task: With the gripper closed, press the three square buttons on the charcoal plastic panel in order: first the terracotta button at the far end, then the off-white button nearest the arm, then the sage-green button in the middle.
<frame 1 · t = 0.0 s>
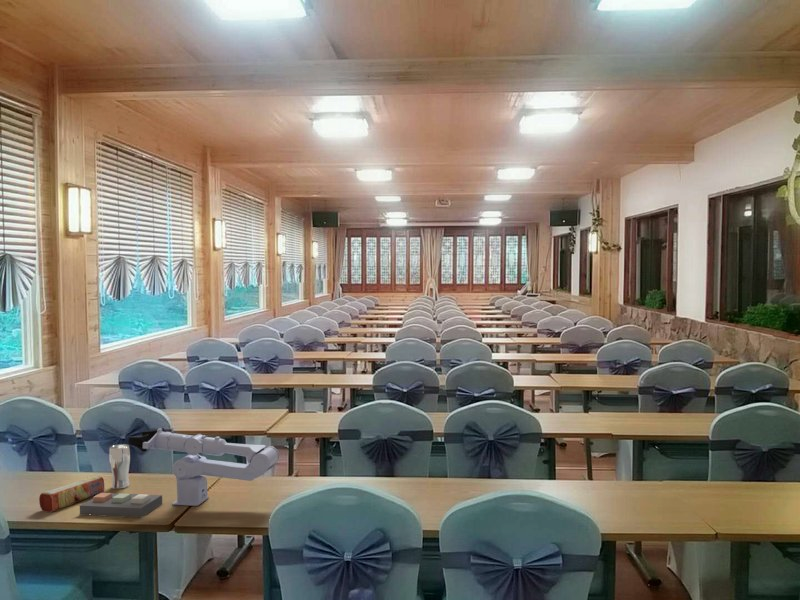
hand: (135, 437, 207), 22 cm above the table, tool horizontal, fingers open, 7 cm apart
sage button: (121, 500, 199), point 3 cm above the table, slide at 0.0 cm
beer glass: (120, 487, 222), on the table
snack package: (73, 502, 208), on the table
button panel: (121, 509, 199), on the table
off-white button: (140, 501, 198), point 3 cm above the table, slide at 0.0 cm
terracotta button: (102, 499, 200), point 3 cm above the table, slide at 0.0 cm
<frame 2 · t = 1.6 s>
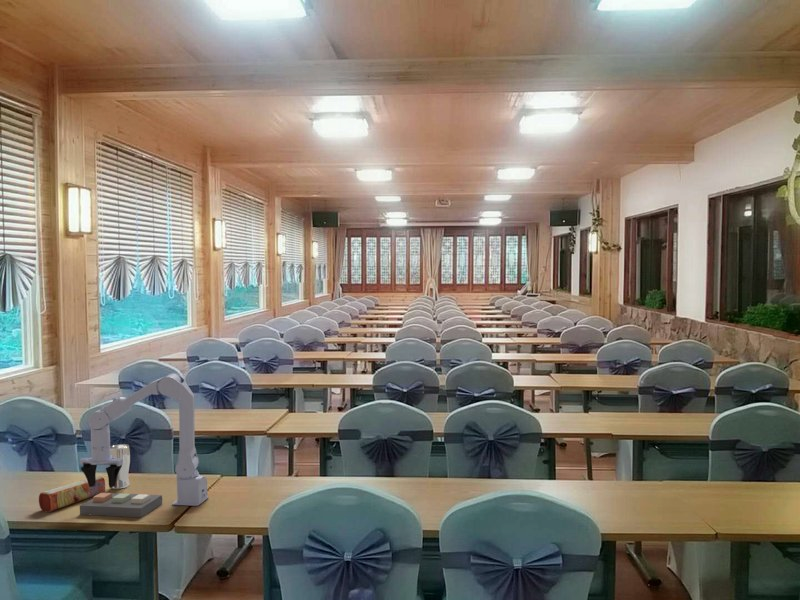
hand: (102, 486, 200), 7 cm above the table, tool pointing down, fingers open, 7 cm apart
nothing on the table moved.
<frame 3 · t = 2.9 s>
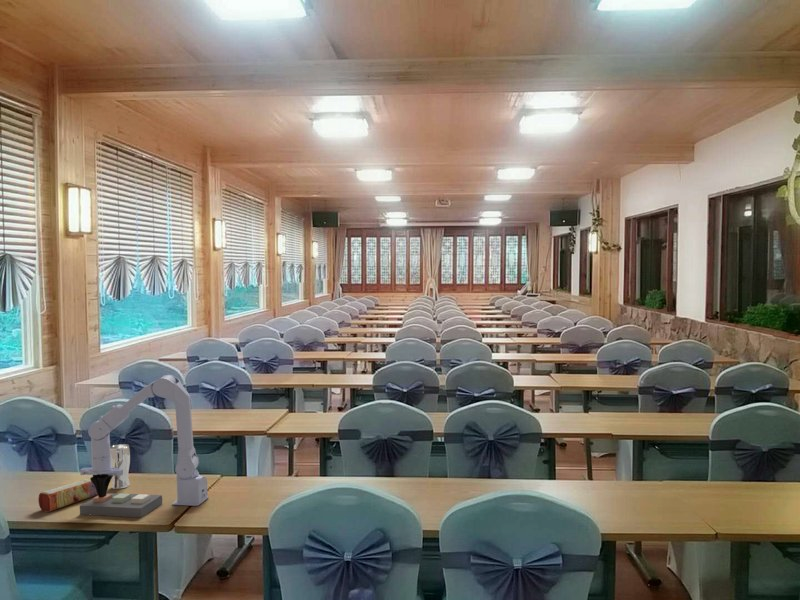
hand: (102, 496, 200), 4 cm above the table, tool pointing down, fingers closed, pressing on terracotta button
terracotta button: (102, 500, 200), point 3 cm above the table, slide at 0.4 cm, touching gripper
everything else where it was.
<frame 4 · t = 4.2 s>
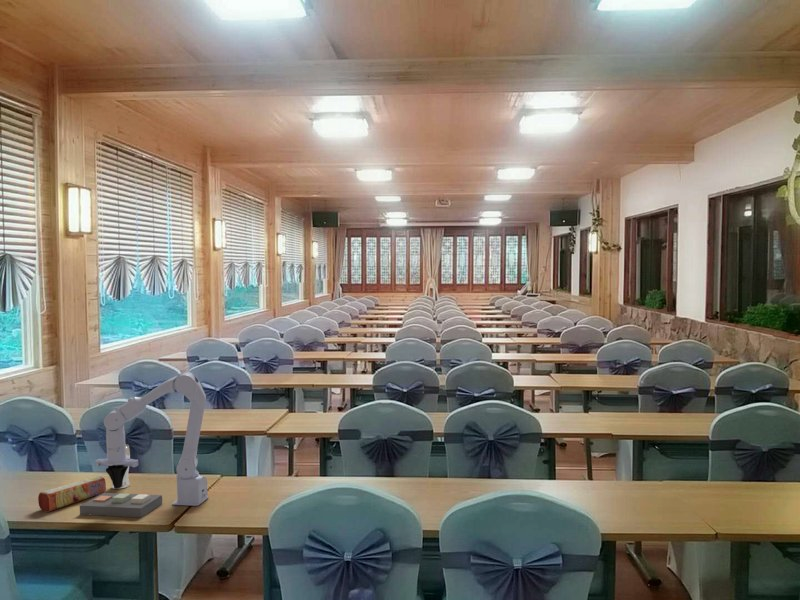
hand: (118, 487, 199), 7 cm above the table, tool pointing down, fingers closed
terracotta button: (102, 502, 200), point 2 cm above the table, slide at 1.0 cm
everything else where it was.
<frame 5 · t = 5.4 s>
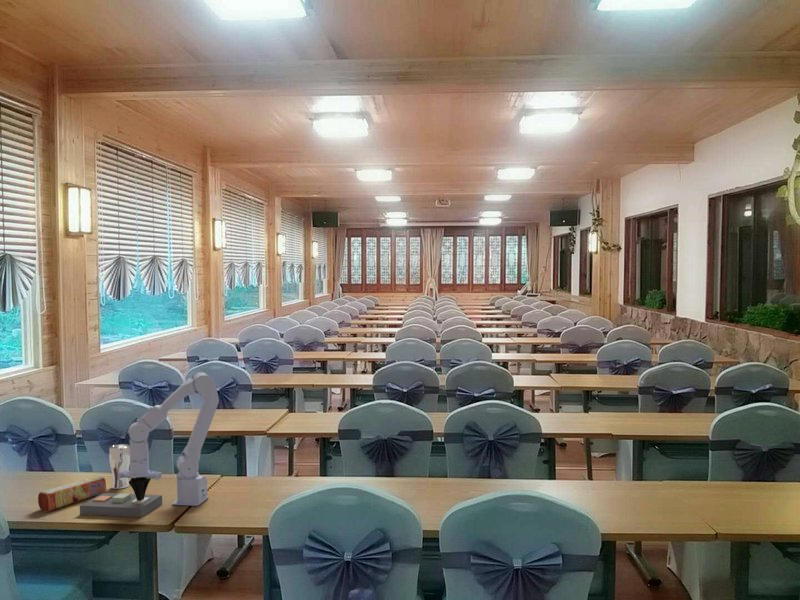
hand: (140, 499, 198), 3 cm above the table, tool pointing down, fingers closed, pressing on off-white button
off-white button: (140, 504, 198), point 2 cm above the table, slide at 1.0 cm, touching gripper
everything else where it was.
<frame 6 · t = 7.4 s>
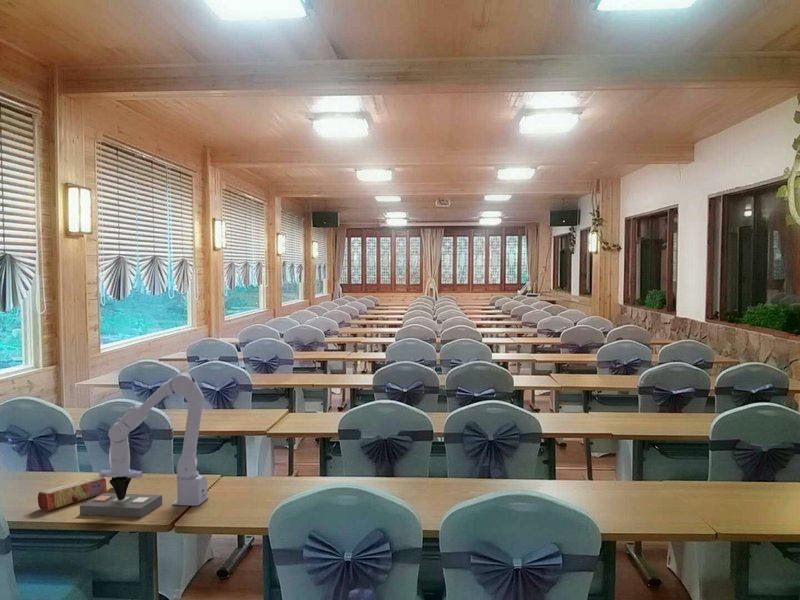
hand: (121, 498, 199), 3 cm above the table, tool pointing down, fingers closed, pressing on sage button
sage button: (121, 503, 199), point 2 cm above the table, slide at 1.0 cm, touching gripper
off-white button: (140, 504, 198), point 2 cm above the table, slide at 1.0 cm
everything else where it was.
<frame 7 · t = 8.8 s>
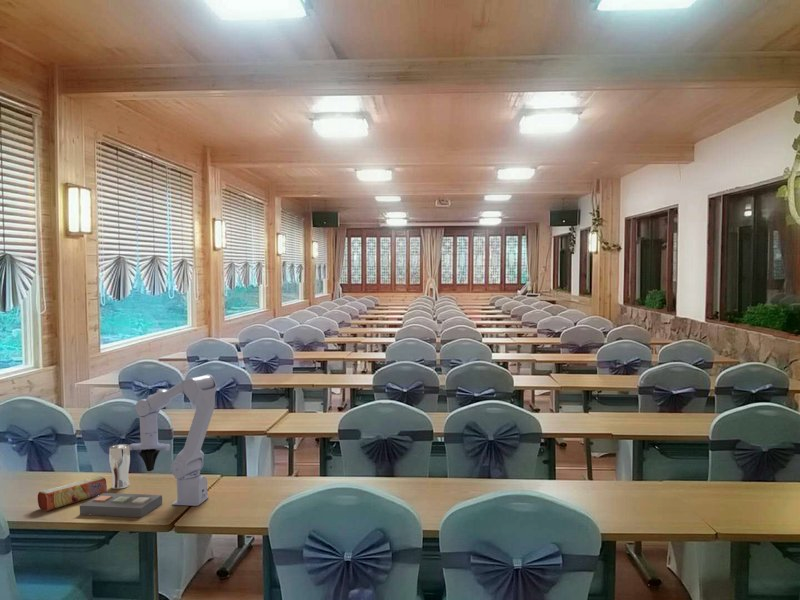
hand: (150, 470, 211), 9 cm above the table, tool pointing down, fingers closed
sage button: (121, 503, 199), point 2 cm above the table, slide at 1.0 cm
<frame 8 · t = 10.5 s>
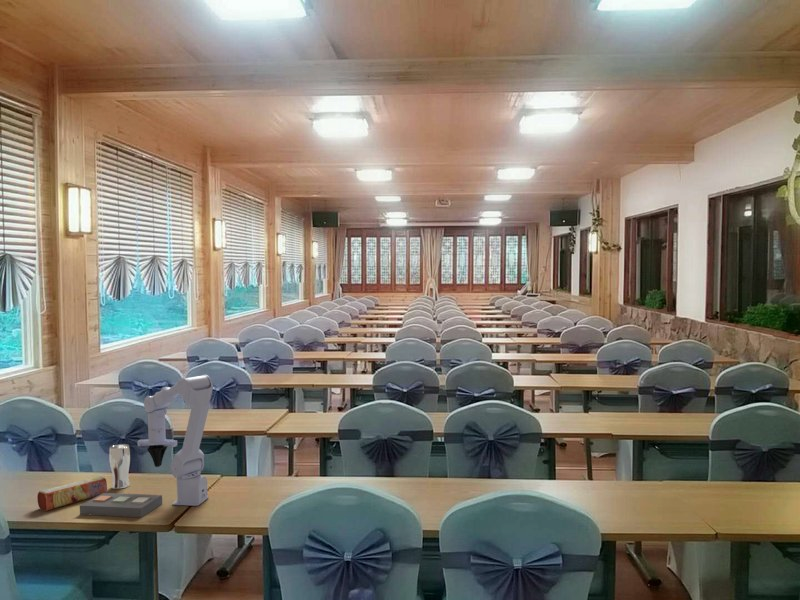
hand: (158, 465, 215), 9 cm above the table, tool pointing down, fingers closed
at the end: terracotta button slide at 1.0 cm; off-white button slide at 1.0 cm; sage button slide at 1.0 cm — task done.
